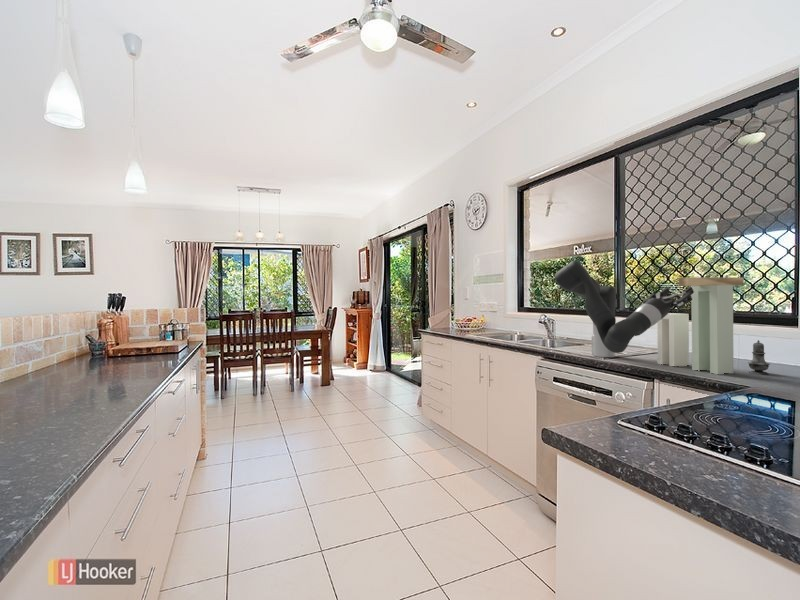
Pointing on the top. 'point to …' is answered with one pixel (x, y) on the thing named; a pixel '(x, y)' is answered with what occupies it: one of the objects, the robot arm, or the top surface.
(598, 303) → the robot arm
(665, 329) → the cream shelf
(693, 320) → the sage stand
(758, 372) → the salt shaker
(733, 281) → the oak slat
